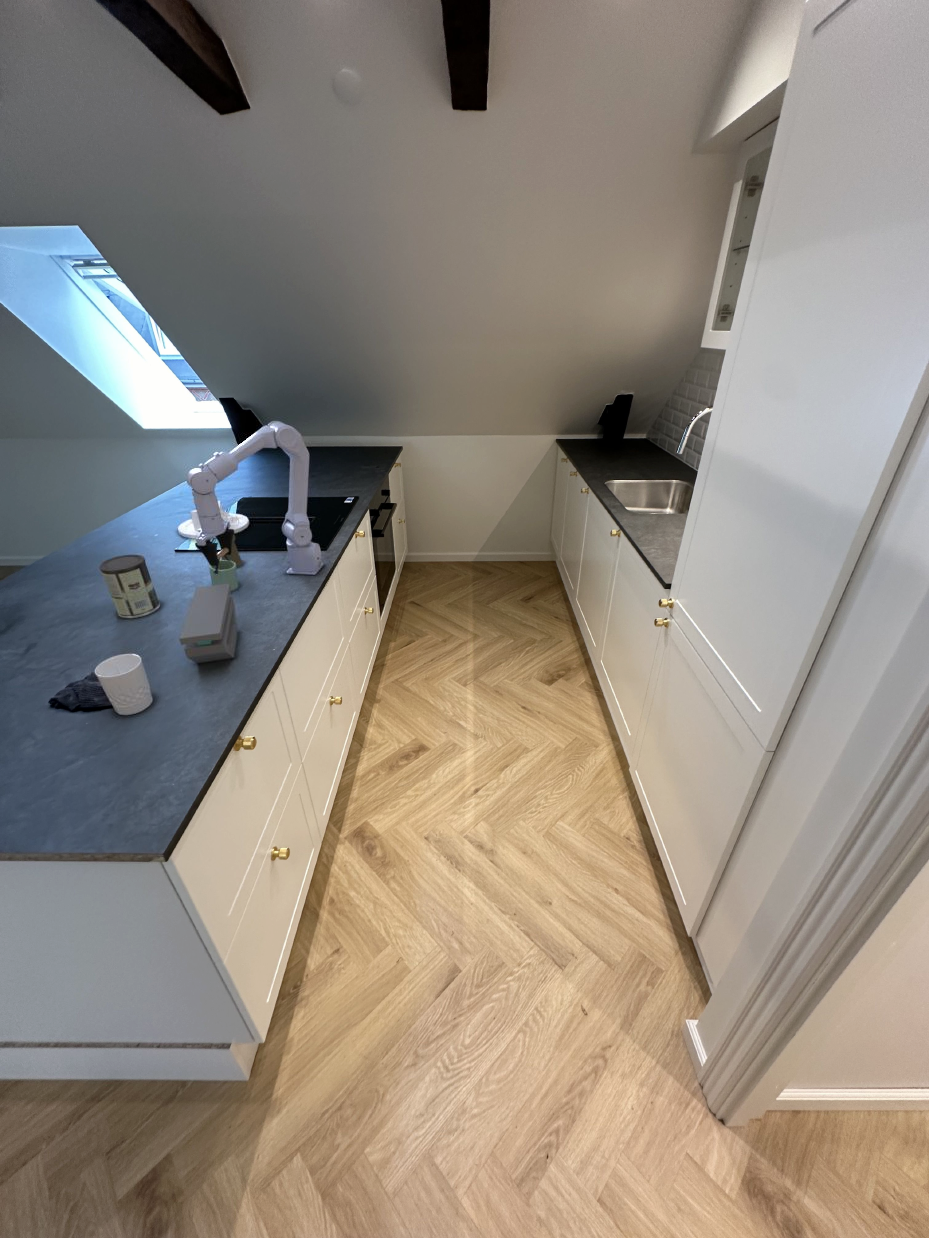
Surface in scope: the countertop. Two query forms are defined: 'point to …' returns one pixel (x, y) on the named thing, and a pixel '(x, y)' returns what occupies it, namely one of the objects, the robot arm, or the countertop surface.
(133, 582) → the coffee can
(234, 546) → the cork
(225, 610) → the grey box
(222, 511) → the dish
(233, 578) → the bucket
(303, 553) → the robot arm
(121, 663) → the white cup
